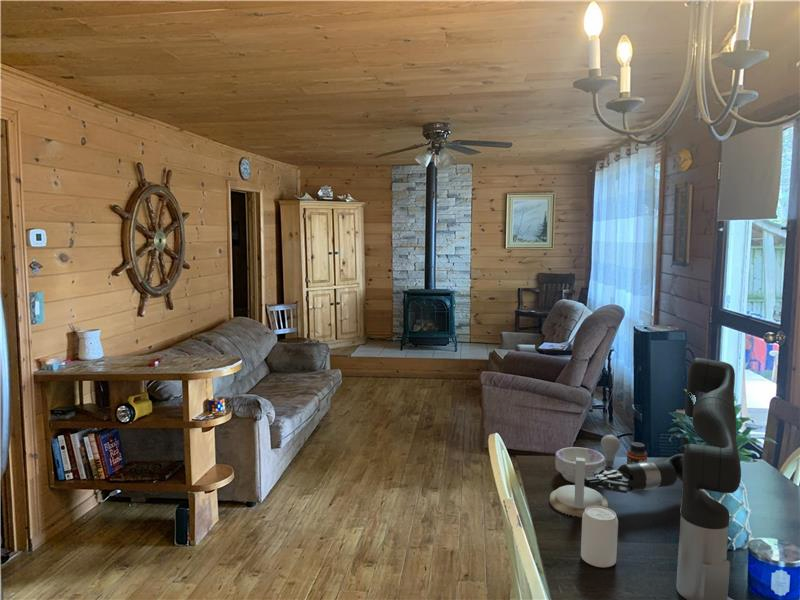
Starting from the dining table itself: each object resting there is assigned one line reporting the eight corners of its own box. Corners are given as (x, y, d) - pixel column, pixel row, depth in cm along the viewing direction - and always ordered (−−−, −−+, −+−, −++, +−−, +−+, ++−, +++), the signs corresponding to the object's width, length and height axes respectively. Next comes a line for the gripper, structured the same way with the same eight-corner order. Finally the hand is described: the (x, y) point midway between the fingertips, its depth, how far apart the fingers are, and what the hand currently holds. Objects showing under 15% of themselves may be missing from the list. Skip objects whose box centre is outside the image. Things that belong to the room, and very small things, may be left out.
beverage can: (588, 547, 146) (590, 501, 144) (620, 558, 141) (623, 511, 139) (575, 561, 139) (577, 513, 138) (608, 573, 134) (611, 524, 133)
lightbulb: (620, 471, 192) (621, 439, 191) (601, 469, 194) (602, 437, 192) (617, 463, 198) (618, 432, 197) (598, 462, 199) (600, 431, 198)
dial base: (619, 514, 163) (619, 508, 163) (568, 520, 159) (568, 515, 159) (587, 489, 178) (587, 484, 178) (540, 495, 174) (540, 490, 174)
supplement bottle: (621, 476, 188) (623, 442, 187) (635, 472, 191) (637, 439, 190) (636, 483, 183) (638, 448, 182) (650, 479, 186) (652, 445, 184)
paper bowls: (546, 471, 192) (546, 448, 191) (586, 466, 196) (587, 444, 195) (571, 491, 177) (572, 466, 176) (614, 485, 181) (615, 461, 180)
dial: (603, 513, 160) (605, 463, 158) (554, 506, 163) (556, 458, 162) (601, 492, 173) (603, 446, 171) (556, 486, 176) (557, 441, 175)
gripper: (625, 455, 172) (573, 460, 168) (655, 473, 159) (598, 479, 155) (624, 479, 173) (572, 485, 169) (653, 499, 160) (597, 506, 156)
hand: (585, 482), depth 162 cm, fingers closed
